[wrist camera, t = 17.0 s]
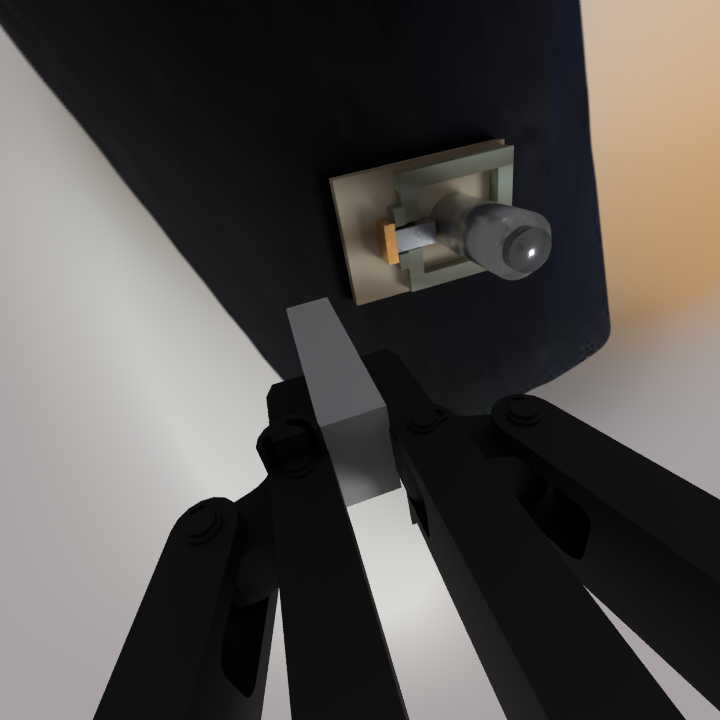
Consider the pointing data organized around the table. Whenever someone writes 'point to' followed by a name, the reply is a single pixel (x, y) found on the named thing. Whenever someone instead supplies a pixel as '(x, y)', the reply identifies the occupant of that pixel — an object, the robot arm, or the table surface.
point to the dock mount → (414, 214)
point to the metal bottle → (492, 234)
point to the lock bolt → (403, 237)
